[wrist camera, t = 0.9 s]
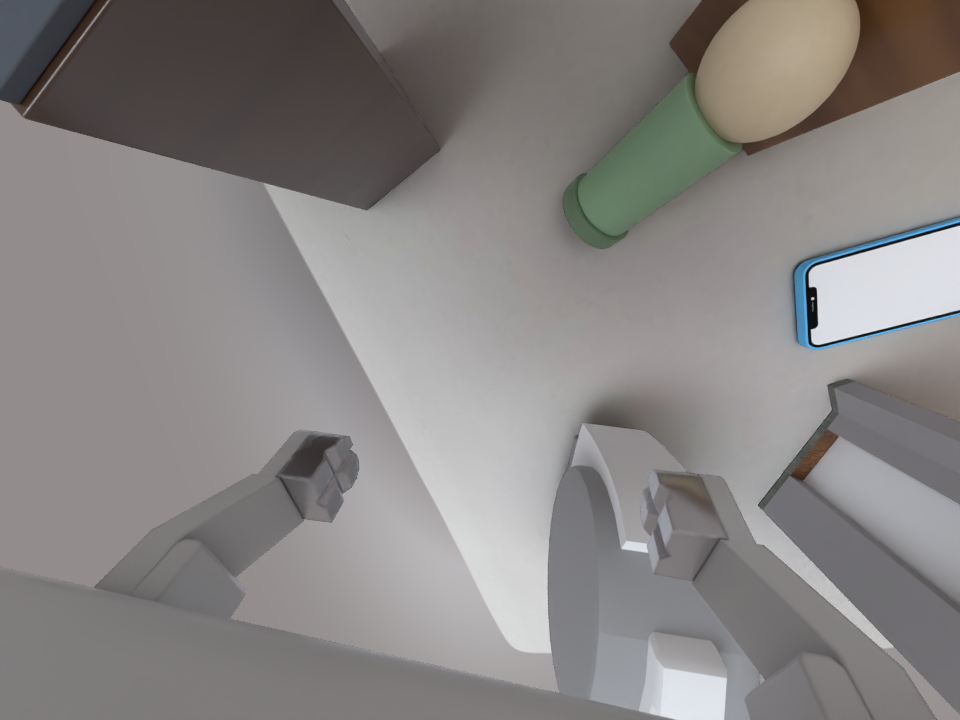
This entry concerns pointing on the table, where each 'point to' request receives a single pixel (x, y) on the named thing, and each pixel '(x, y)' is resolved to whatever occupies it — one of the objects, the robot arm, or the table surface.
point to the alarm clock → (631, 595)
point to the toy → (719, 110)
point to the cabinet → (884, 521)
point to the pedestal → (239, 93)
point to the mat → (33, 40)
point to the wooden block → (876, 63)
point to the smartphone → (879, 286)
